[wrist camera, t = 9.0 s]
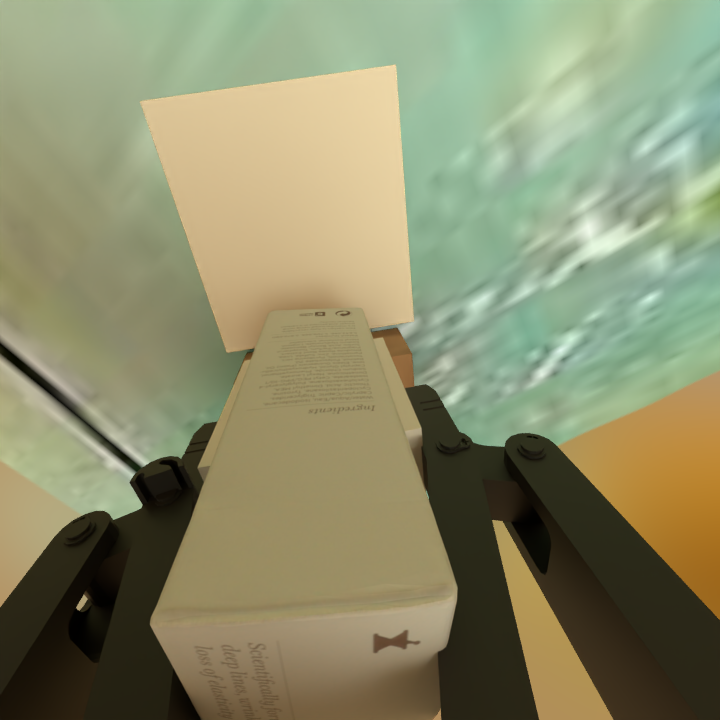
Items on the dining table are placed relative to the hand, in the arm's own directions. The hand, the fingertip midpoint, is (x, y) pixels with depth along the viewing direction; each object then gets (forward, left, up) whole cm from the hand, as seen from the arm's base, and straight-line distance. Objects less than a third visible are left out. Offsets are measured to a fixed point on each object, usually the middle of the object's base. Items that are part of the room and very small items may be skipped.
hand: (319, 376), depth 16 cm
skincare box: (0, 0, -1) cm, 1 cm away
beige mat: (0, +6, -7) cm, 9 cm away
